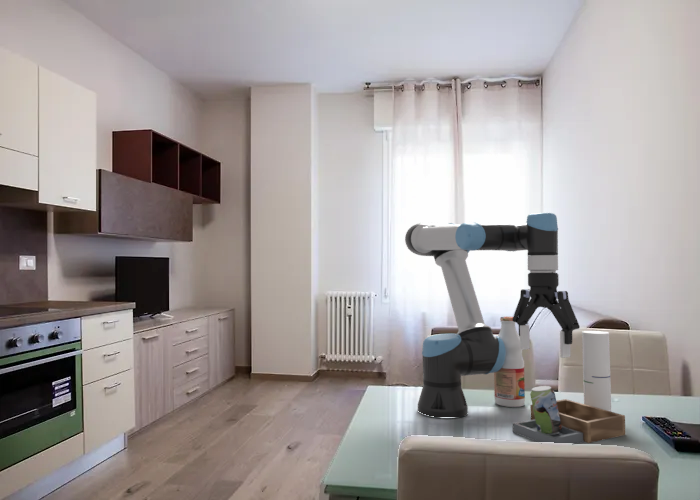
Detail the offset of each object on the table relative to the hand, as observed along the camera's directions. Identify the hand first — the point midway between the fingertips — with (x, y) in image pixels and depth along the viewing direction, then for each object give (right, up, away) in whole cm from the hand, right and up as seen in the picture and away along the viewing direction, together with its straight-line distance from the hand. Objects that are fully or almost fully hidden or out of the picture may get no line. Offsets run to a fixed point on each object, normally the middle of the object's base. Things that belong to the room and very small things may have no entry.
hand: (544, 353), depth 131 cm
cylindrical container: (+21, -22, +14) cm, 34 cm away
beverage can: (0, -21, -1) cm, 21 cm away
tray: (0, -22, -1) cm, 22 cm away
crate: (+11, -22, +6) cm, 25 cm away
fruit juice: (+1, -23, +31) cm, 39 cm away
